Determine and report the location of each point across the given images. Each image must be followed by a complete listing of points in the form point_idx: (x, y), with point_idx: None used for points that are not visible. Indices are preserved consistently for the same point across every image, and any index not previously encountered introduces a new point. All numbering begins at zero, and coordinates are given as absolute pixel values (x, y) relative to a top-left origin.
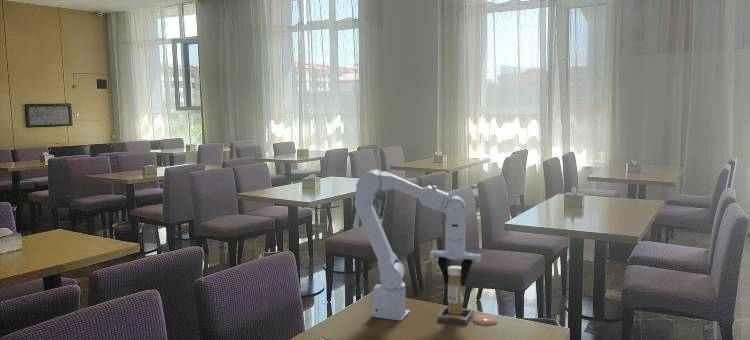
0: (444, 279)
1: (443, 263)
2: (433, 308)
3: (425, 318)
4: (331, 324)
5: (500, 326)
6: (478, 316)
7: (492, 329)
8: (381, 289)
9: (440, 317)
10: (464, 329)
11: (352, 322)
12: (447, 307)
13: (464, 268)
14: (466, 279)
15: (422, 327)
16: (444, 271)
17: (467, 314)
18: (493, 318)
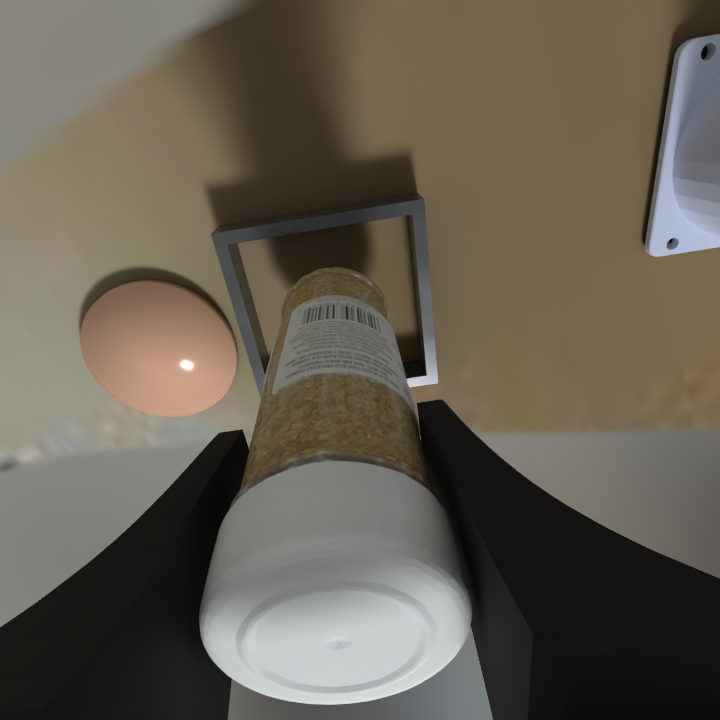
0: (459, 420)
1: (570, 622)
2: (515, 375)
3: (512, 201)
4: None
5: (36, 314)
6: (215, 371)
7: (40, 245)
8: None
9: (401, 202)
10: (187, 146)
11: None
12: (422, 375)
13: (52, 631)
14: None
15: (478, 8)
16: (488, 495)
17: None
18: (124, 384)
